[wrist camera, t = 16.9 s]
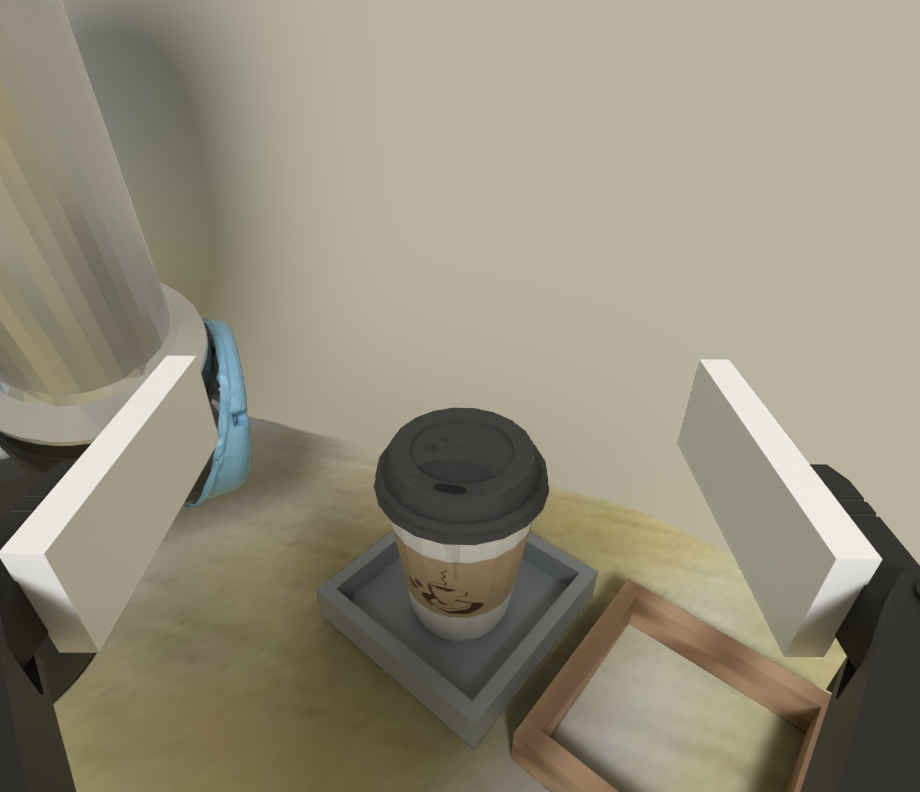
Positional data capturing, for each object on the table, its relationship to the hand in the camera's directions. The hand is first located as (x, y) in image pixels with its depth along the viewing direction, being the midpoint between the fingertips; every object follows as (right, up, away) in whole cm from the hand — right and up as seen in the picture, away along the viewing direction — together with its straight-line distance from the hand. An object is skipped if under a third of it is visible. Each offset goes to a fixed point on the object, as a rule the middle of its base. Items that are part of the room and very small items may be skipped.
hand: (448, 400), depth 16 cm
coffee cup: (0, -16, +29) cm, 33 cm away
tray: (0, -16, +30) cm, 34 cm away
